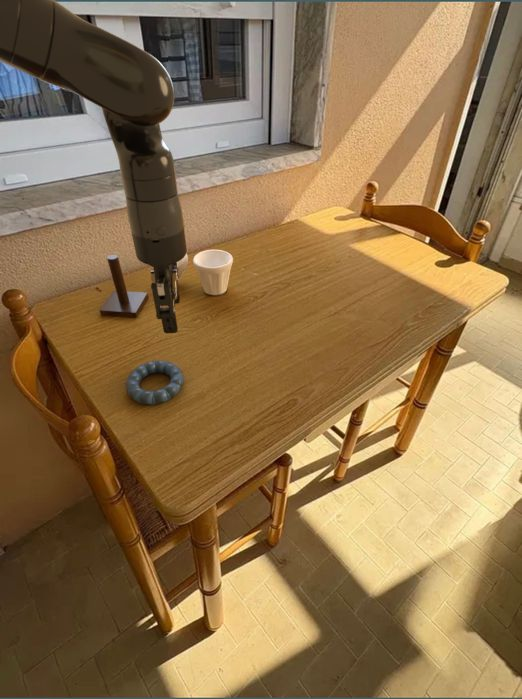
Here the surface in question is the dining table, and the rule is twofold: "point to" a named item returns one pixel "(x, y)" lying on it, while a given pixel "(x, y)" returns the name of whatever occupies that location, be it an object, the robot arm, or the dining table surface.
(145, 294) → the stand
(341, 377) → the dining table surface
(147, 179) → the robot arm
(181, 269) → the spinning top
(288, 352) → the dining table surface
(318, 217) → the dining table surface
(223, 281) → the cup
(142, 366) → the blue teething ring
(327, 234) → the dining table surface
